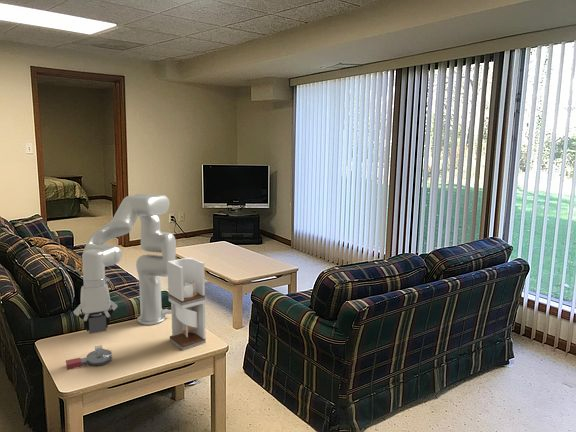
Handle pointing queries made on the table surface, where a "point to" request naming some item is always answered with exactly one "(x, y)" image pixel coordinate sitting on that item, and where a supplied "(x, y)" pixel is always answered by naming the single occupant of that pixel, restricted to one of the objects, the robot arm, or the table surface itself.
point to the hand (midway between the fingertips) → (96, 327)
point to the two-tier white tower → (187, 302)
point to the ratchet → (91, 359)
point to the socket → (97, 322)
